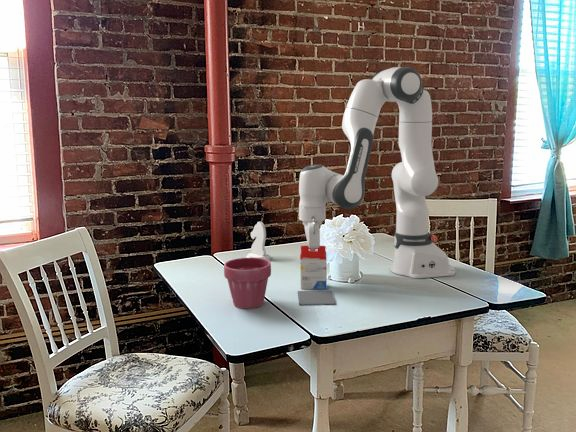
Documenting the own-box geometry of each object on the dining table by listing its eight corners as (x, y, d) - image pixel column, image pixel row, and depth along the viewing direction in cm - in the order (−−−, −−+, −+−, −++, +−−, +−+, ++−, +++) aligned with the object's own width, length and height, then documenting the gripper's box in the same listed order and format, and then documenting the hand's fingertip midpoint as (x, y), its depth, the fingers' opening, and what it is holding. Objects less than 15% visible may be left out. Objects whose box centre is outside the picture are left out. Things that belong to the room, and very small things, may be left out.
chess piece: (259, 254, 229) (259, 217, 226) (276, 259, 222) (275, 221, 219) (240, 259, 223) (239, 221, 220) (257, 264, 216) (256, 225, 213)
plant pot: (230, 295, 182) (229, 256, 179) (274, 296, 180) (273, 257, 178) (220, 311, 168) (219, 269, 165) (267, 312, 166) (267, 270, 164)
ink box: (326, 284, 191) (326, 242, 188) (326, 289, 186) (326, 246, 183) (301, 284, 192) (301, 241, 189) (300, 289, 187) (299, 245, 184)
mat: (331, 291, 184) (331, 290, 184) (335, 304, 172) (335, 303, 172) (297, 292, 184) (297, 291, 184) (299, 305, 172) (299, 304, 172)
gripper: (324, 220, 179) (324, 263, 181) (319, 208, 199) (319, 247, 201) (304, 220, 178) (304, 263, 181) (301, 208, 198) (301, 247, 201)
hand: (312, 254), depth 191 cm, fingers closed
